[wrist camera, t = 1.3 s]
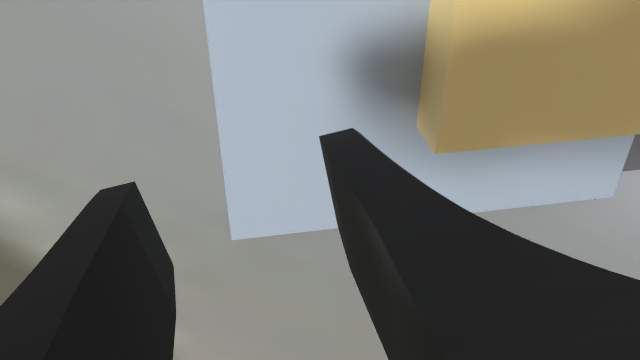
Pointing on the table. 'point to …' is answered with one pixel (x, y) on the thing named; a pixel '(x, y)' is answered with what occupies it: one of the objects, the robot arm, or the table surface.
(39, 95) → the table surface
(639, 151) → the mat
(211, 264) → the table surface
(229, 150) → the light blue flat slab
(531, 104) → the yellow flat piece
